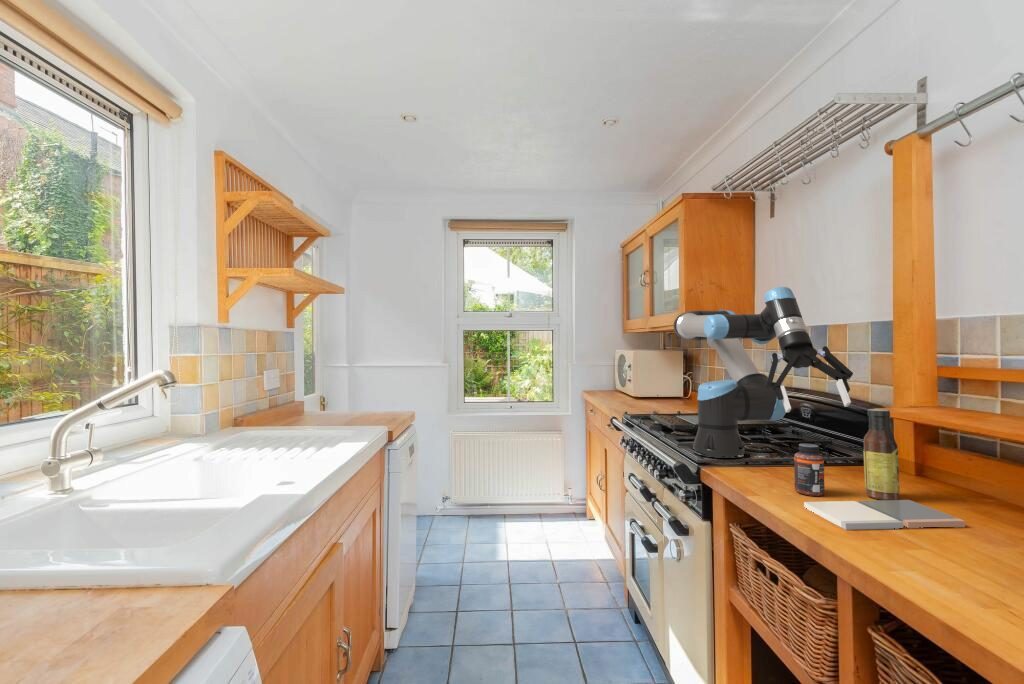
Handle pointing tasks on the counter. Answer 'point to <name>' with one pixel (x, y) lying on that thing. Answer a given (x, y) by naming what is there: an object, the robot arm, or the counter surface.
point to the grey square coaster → (914, 514)
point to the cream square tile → (853, 515)
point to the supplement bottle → (809, 470)
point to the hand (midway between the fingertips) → (817, 407)
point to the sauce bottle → (881, 458)
